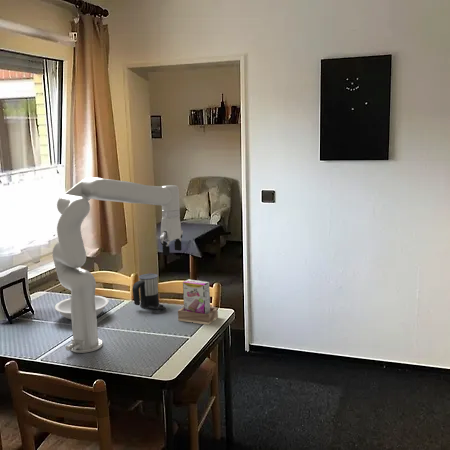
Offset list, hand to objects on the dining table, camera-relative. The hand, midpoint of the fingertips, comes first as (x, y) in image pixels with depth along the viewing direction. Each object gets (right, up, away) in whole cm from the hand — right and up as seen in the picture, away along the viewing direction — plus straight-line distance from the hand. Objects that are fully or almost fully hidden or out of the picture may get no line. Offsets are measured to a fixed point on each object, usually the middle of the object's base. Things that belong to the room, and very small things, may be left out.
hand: (172, 252), depth 232 cm
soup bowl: (-42, -30, +11) cm, 53 cm away
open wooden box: (+11, -30, +4) cm, 32 cm away
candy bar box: (+11, -29, +4) cm, 31 cm away
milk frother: (-11, -28, +21) cm, 36 cm away
